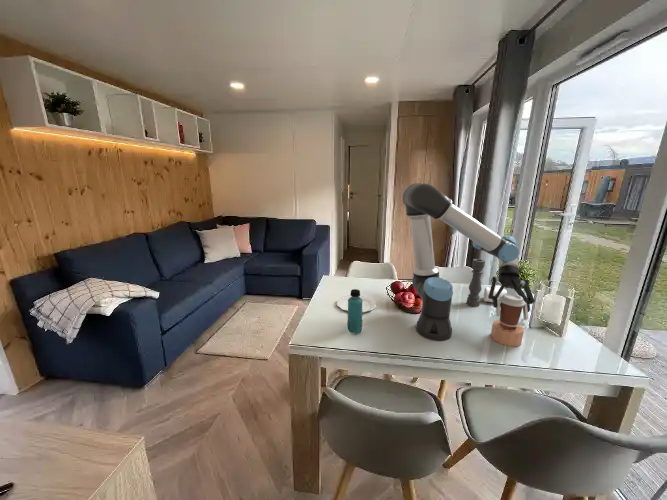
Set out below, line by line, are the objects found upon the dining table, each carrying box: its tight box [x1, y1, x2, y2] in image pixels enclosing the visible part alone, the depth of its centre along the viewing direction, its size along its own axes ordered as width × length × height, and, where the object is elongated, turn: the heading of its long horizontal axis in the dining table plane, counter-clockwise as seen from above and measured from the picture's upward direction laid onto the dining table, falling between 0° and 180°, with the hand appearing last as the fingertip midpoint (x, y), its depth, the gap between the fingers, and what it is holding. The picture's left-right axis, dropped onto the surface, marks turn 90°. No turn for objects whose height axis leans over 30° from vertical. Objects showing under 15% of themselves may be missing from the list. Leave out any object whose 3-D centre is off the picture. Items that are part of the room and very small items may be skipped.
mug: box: [483, 286, 508, 305], centre depth 156 cm, size 12×10×8 cm
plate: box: [336, 295, 377, 313], centre depth 150 cm, size 21×21×2 cm
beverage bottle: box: [346, 288, 363, 334], centre depth 121 cm, size 6×7×20 cm
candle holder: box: [466, 258, 486, 308], centre depth 149 cm, size 6×6×25 cm
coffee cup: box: [499, 292, 525, 327], centre depth 116 cm, size 9×9×12 cm
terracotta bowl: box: [490, 319, 525, 347], centre depth 118 cm, size 11×11×6 cm
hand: (512, 317), depth 113 cm, fingers closed on coffee cup, 9 cm apart
